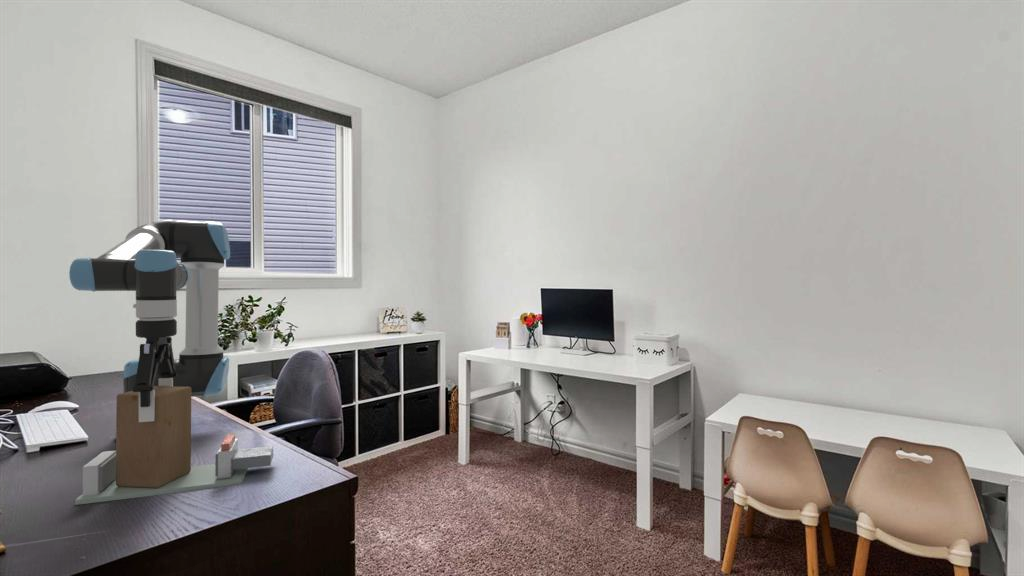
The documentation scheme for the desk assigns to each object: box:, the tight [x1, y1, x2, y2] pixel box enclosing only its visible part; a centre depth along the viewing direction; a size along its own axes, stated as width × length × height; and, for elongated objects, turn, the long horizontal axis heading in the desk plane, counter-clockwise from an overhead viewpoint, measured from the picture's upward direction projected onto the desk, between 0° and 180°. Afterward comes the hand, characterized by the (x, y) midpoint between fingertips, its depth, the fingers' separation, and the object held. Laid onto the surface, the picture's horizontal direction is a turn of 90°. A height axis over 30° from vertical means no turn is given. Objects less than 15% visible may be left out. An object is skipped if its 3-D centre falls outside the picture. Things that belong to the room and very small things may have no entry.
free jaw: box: [214, 433, 274, 479], centre depth 119 cm, size 10×11×7 cm
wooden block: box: [115, 386, 192, 488], centre depth 113 cm, size 10×10×20 cm
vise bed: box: [74, 450, 249, 506], centre depth 113 cm, size 14×30×7 cm, turn 111°
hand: (156, 413), depth 113 cm, fingers open, 13 cm apart
